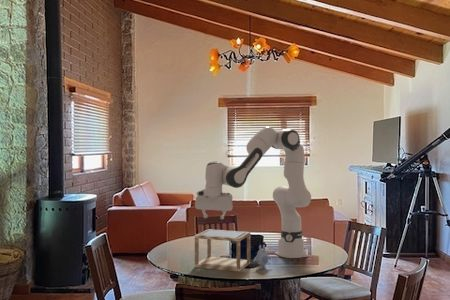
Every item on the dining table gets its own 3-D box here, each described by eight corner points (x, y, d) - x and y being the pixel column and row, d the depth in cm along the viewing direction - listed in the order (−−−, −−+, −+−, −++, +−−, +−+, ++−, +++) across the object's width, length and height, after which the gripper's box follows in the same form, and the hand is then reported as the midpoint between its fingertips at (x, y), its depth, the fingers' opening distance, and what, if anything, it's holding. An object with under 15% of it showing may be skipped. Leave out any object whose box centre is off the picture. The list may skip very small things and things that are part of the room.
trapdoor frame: (250, 263, 247) (250, 232, 247) (239, 271, 230) (239, 238, 230) (208, 259, 256) (208, 229, 255) (194, 267, 239) (194, 235, 239)
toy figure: (256, 271, 231) (256, 247, 231) (250, 268, 236) (250, 244, 236) (274, 268, 236) (274, 244, 236) (267, 265, 242) (267, 242, 242)
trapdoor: (245, 238, 246) (245, 232, 246) (236, 244, 233) (236, 237, 233) (210, 236, 253) (210, 230, 253) (199, 241, 240) (199, 234, 240)
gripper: (234, 192, 243) (234, 218, 244) (198, 191, 251) (198, 216, 251) (230, 193, 238) (230, 220, 238) (193, 192, 245) (194, 218, 245)
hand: (213, 218), depth 244 cm, fingers open, 8 cm apart
